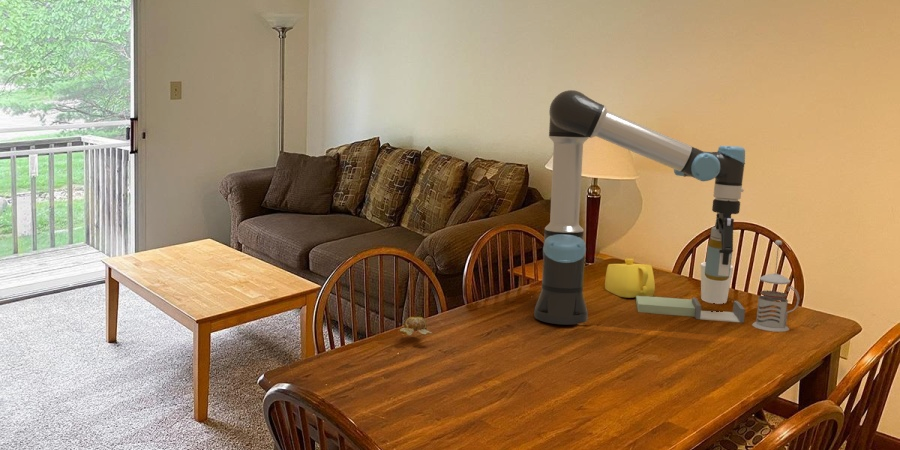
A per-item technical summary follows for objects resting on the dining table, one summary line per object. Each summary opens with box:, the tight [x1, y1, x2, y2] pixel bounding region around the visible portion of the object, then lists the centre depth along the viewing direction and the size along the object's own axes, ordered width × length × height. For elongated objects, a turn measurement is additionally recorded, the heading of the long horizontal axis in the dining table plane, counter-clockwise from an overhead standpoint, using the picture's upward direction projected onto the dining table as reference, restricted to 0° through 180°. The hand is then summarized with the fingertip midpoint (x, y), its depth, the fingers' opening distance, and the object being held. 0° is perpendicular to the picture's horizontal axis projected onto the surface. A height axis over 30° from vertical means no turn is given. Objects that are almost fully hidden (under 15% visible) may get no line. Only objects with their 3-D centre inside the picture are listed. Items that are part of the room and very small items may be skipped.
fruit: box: [399, 316, 433, 336], centre depth 204 cm, size 8×8×4 cm
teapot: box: [604, 258, 656, 299], centre depth 255 cm, size 20×12×12 cm, turn 22°
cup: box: [700, 261, 734, 305], centre depth 249 cm, size 10×10×13 cm
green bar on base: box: [635, 296, 746, 324], centre depth 237 cm, size 30×15×4 cm, turn 80°
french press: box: [751, 239, 800, 333], centre depth 222 cm, size 10×12×25 cm
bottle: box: [705, 226, 733, 281], centre depth 235 cm, size 7×7×15 cm
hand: (719, 271), depth 232 cm, fingers open, 13 cm apart
